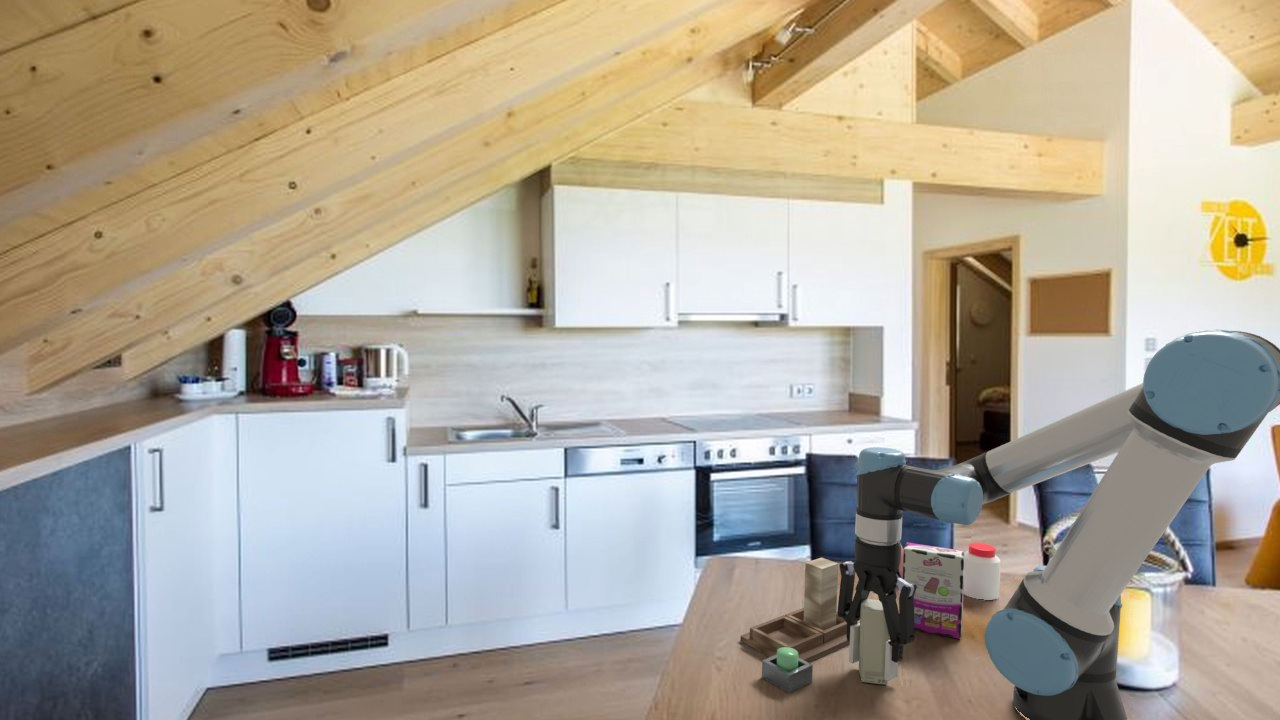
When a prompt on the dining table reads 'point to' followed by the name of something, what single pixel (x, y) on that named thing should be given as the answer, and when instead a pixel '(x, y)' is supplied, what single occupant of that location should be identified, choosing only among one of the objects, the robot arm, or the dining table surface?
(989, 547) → the pill bottle
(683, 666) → the dining table surface
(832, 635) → the tray
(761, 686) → the dining table surface
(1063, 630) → the robot arm
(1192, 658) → the dining table surface
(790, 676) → the grey square tray
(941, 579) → the candy bar box
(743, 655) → the dining table surface
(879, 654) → the box
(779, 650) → the button
